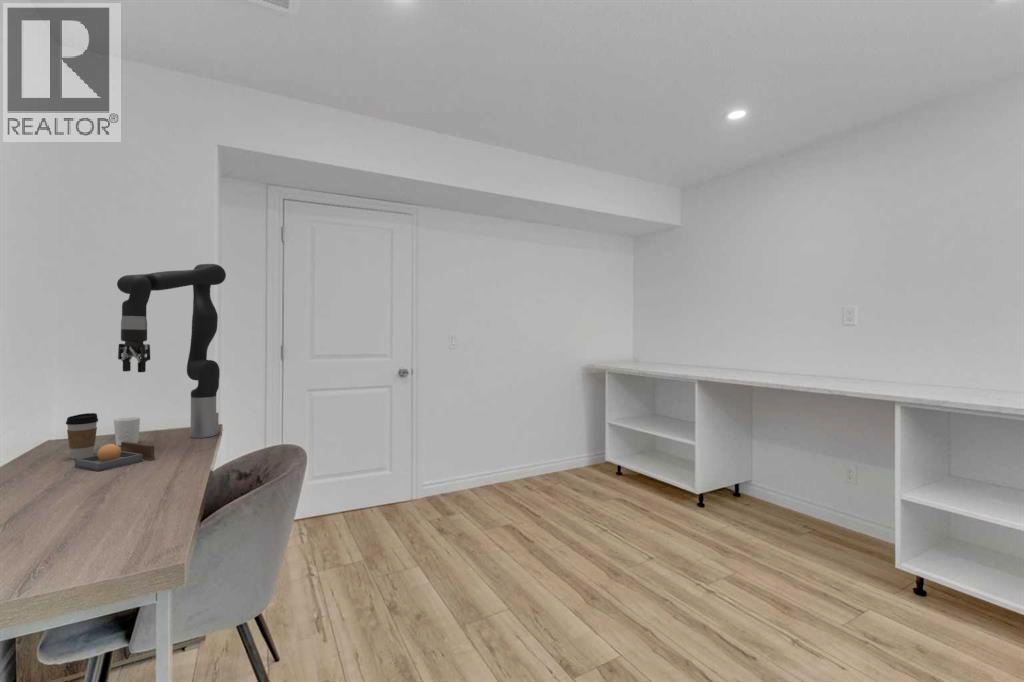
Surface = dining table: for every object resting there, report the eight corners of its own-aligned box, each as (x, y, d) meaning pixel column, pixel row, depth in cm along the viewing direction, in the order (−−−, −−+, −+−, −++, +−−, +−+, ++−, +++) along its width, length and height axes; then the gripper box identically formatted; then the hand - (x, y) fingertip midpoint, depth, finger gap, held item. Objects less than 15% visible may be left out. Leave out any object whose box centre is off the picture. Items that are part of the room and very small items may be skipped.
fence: (125, 454, 162) (125, 441, 162) (154, 459, 157) (154, 445, 157) (121, 455, 161) (121, 442, 161) (150, 460, 156) (150, 446, 156)
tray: (119, 457, 159) (119, 450, 159) (142, 461, 155) (142, 454, 155) (74, 467, 147) (74, 459, 147) (98, 471, 143) (98, 463, 143)
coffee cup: (104, 454, 163) (104, 413, 163) (80, 460, 154) (80, 417, 154) (84, 453, 164) (84, 412, 164) (58, 459, 155) (58, 416, 155)
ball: (114, 458, 155) (114, 441, 155) (125, 460, 153) (125, 442, 153) (93, 463, 149) (93, 445, 149) (104, 465, 147) (104, 447, 147)
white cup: (118, 442, 180) (118, 417, 180) (142, 440, 184) (142, 416, 184) (110, 446, 173) (110, 421, 173) (136, 445, 177) (136, 420, 176)
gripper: (158, 328, 167) (157, 371, 167) (133, 328, 172) (132, 370, 172) (135, 328, 160) (135, 373, 160) (110, 328, 165) (109, 371, 165)
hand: (134, 371), depth 166 cm, fingers open, 8 cm apart
